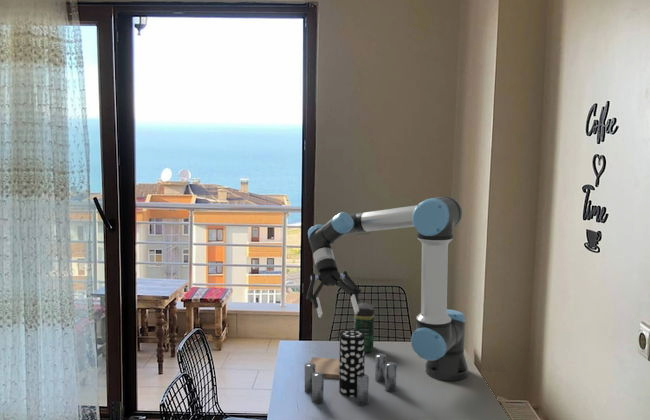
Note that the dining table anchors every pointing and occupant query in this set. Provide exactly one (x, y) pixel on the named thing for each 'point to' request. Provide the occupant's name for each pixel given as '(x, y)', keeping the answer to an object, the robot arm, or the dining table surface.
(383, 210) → the robot arm
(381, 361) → the spacer posts
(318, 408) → the dining table surface
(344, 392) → the spotted tube
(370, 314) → the coffee jar
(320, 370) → the square wooden board
